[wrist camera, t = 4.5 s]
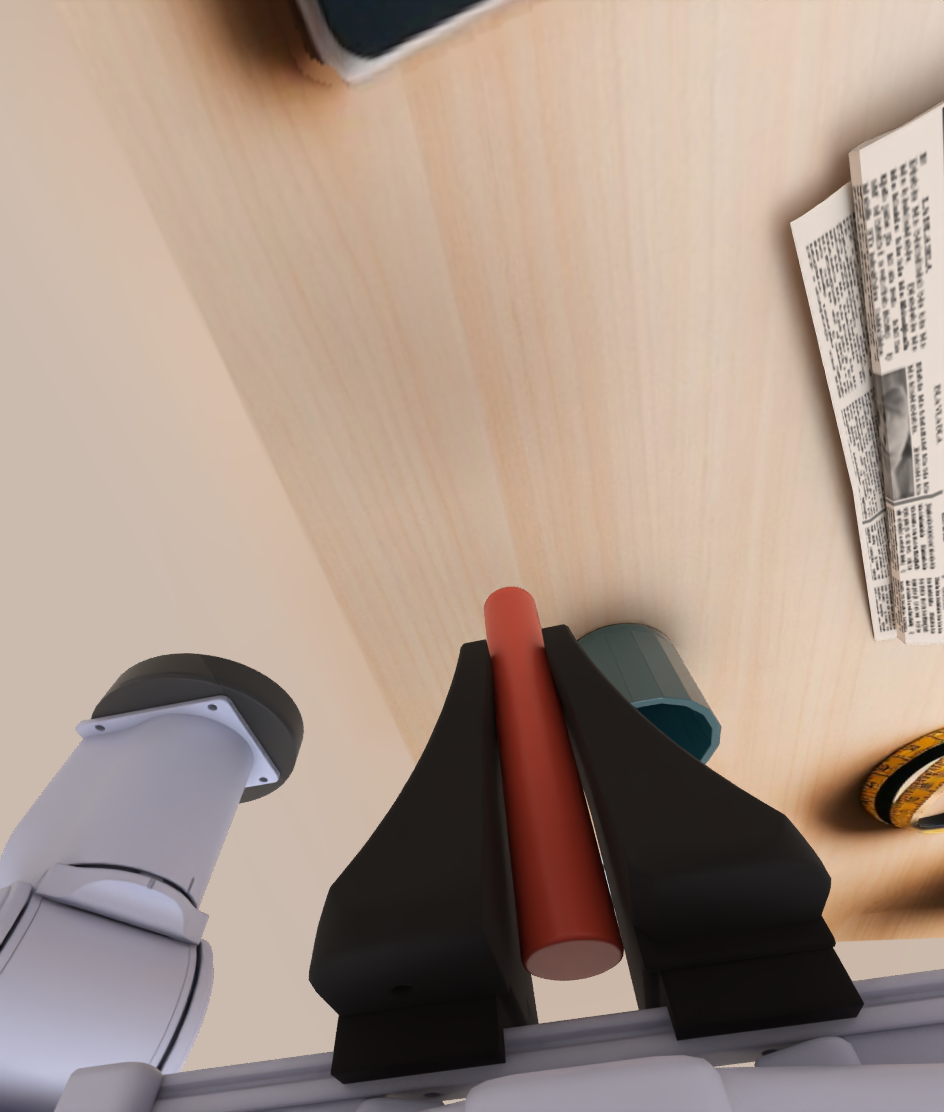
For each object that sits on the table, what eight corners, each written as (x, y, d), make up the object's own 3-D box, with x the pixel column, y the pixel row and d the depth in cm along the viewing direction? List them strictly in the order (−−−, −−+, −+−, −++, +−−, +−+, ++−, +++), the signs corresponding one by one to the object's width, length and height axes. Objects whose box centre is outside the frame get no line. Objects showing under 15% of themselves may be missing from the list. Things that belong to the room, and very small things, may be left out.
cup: (564, 718, 28) (585, 799, 24) (551, 635, 25) (572, 713, 21) (675, 699, 28) (716, 778, 24) (676, 612, 25) (725, 686, 20)
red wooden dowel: (489, 630, 16) (529, 988, 8) (479, 591, 15) (513, 946, 7) (538, 621, 16) (627, 974, 8) (531, 580, 15) (622, 930, 7)
